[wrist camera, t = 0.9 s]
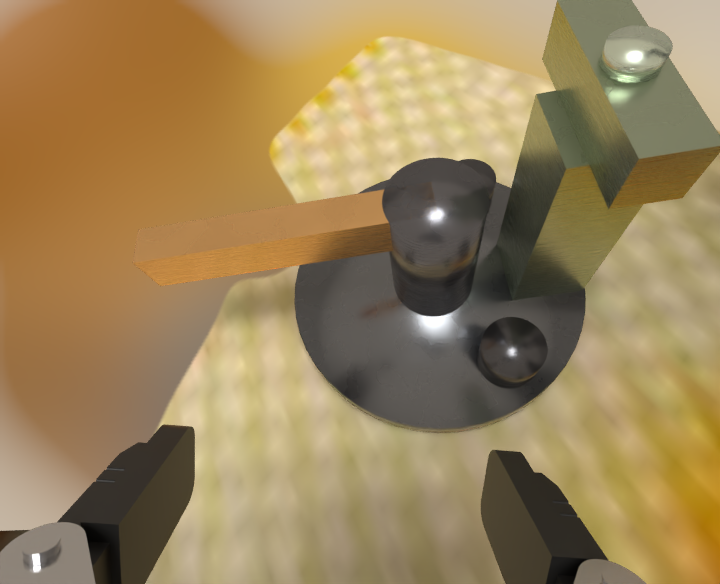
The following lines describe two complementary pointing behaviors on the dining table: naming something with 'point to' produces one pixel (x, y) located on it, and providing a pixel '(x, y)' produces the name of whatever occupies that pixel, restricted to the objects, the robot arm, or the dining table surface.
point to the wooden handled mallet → (344, 236)
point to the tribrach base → (424, 344)
